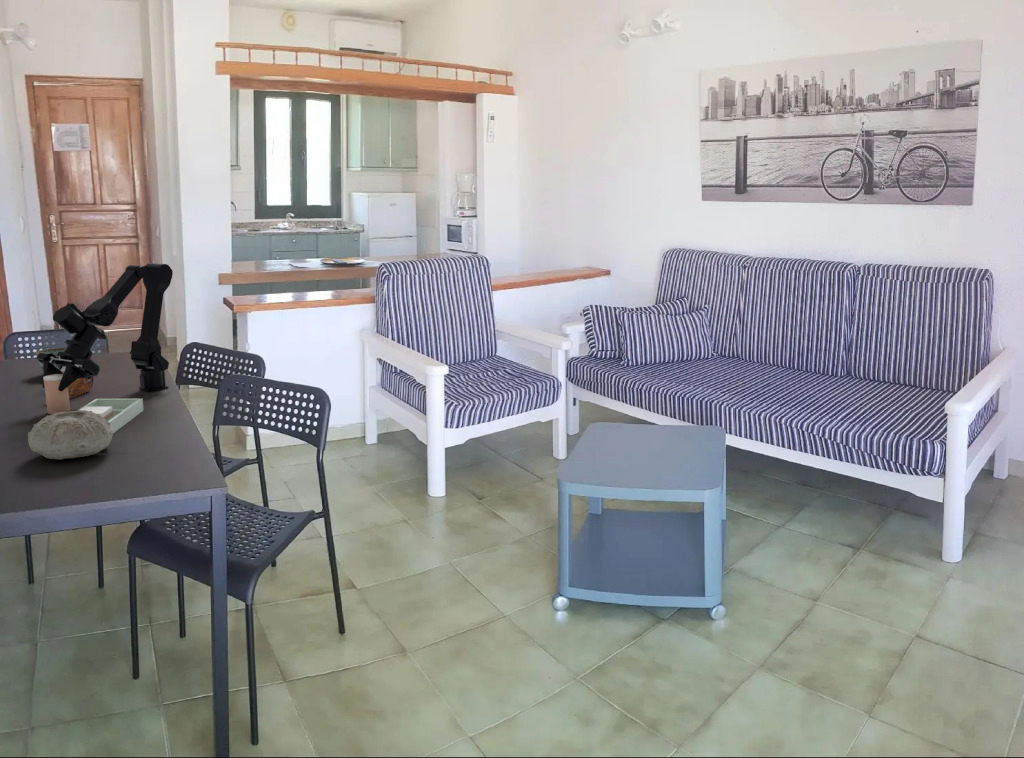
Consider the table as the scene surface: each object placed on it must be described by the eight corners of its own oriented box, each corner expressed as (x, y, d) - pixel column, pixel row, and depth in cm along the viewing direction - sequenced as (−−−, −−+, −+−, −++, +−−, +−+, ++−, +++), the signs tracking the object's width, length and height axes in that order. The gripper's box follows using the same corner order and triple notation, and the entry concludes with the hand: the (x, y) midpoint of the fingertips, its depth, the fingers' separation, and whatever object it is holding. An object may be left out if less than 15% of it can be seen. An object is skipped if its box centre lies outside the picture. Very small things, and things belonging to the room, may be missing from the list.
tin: (61, 401, 247) (58, 374, 245) (51, 401, 248) (48, 373, 246) (95, 390, 261) (92, 363, 259) (86, 389, 262) (84, 363, 260)
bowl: (70, 379, 274) (67, 355, 272) (29, 378, 274) (26, 354, 273) (91, 370, 288) (89, 347, 286) (52, 369, 288) (49, 346, 286)
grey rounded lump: (116, 460, 196) (112, 419, 194) (29, 471, 188) (24, 428, 186) (112, 440, 212) (108, 401, 210) (31, 449, 204) (26, 409, 201)
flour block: (86, 424, 222) (84, 406, 221) (114, 424, 223) (112, 406, 222) (74, 432, 215) (73, 413, 214) (103, 432, 216) (101, 413, 215)
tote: (97, 412, 236) (96, 398, 235) (143, 412, 237) (142, 398, 236) (59, 438, 212) (57, 422, 212) (110, 437, 214) (109, 422, 213)
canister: (64, 407, 238) (60, 373, 235) (74, 411, 234) (70, 376, 232) (43, 411, 233) (39, 376, 231) (53, 415, 230) (49, 379, 227)
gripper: (124, 362, 241) (96, 408, 234) (76, 356, 248) (48, 400, 241) (98, 339, 232) (68, 387, 225) (50, 334, 239) (19, 380, 232)
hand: (52, 389), depth 231 cm, fingers closed on canister, 6 cm apart
